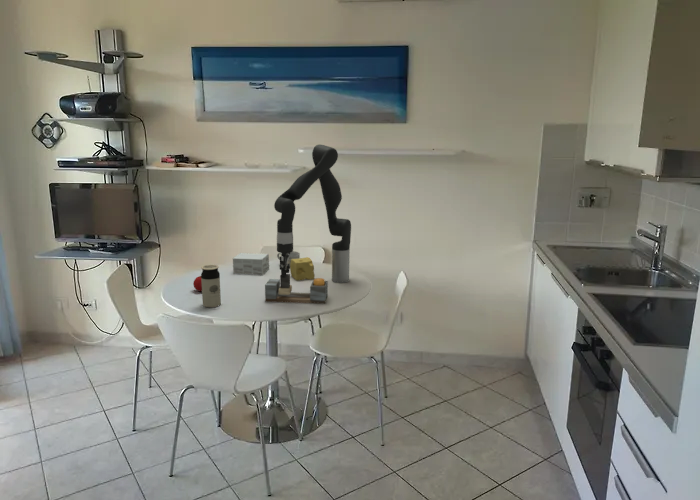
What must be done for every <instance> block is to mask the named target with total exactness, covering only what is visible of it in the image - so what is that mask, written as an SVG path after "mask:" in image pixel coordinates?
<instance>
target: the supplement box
mask: <svg viewBox="0 0 700 500" xmlns="http://www.w3.org/2000/svg"><path fill="white" fill-rule="evenodd" d="M269 256H270V255H269V253H253V252H252V253H251V252H250V253H249V252H247V253H246V252H239V253H238V254H236V255H235V256H234V257H233V258H232V273H233V275H251V276H264V275H265V274H266V273H267V272H268V271H269V270H270V257H269Z"/></svg>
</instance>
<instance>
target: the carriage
mask: <svg viewBox="0 0 700 500" xmlns="http://www.w3.org/2000/svg"><path fill="white" fill-rule="evenodd" d="M279 279H280V288H279V294H284V295H289V294H290V293H291V292H292V291H293V286H292V284H291V273H286V278H281V274H280V276H279Z"/></svg>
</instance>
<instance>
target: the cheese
mask: <svg viewBox="0 0 700 500" xmlns="http://www.w3.org/2000/svg"><path fill="white" fill-rule="evenodd" d="M314 271H315V266H314V263H313V260H312V259H311V257H307V256H306V257H302V258H301V257H300V258H299V259H291V263H290V268H289V272H290V277H292V278H293V279H294V280H295V281H296V282H298V281H304V280H308V281H309V280H310V281H311V280H314V279H315V277H316V276H315V272H314Z"/></svg>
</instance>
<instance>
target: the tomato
mask: <svg viewBox="0 0 700 500" xmlns="http://www.w3.org/2000/svg"><path fill="white" fill-rule="evenodd" d="M193 287H194V289H195V290H196V291H197V292H201V293H202V281H201V275H199V276H197V277H196V278H194V280H193Z"/></svg>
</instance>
